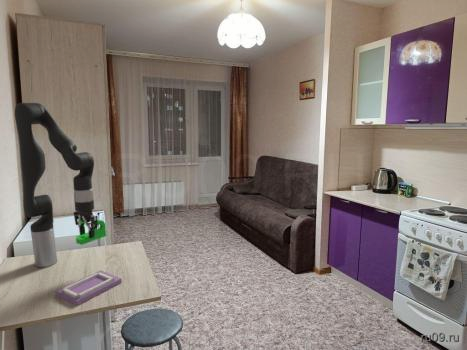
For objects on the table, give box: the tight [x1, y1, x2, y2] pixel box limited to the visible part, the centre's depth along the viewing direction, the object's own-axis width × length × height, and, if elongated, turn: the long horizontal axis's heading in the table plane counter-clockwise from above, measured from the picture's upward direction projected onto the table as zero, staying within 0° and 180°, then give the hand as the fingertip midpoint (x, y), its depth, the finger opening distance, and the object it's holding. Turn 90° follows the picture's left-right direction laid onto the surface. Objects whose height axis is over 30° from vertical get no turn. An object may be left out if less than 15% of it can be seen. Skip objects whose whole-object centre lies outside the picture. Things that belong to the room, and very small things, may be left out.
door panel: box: [55, 270, 123, 306], centre depth 132 cm, size 14×20×3 cm
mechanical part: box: [75, 219, 107, 246], centre depth 143 cm, size 12×6×8 cm, turn 148°
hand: (87, 236), depth 142 cm, fingers closed on mechanical part, 6 cm apart
